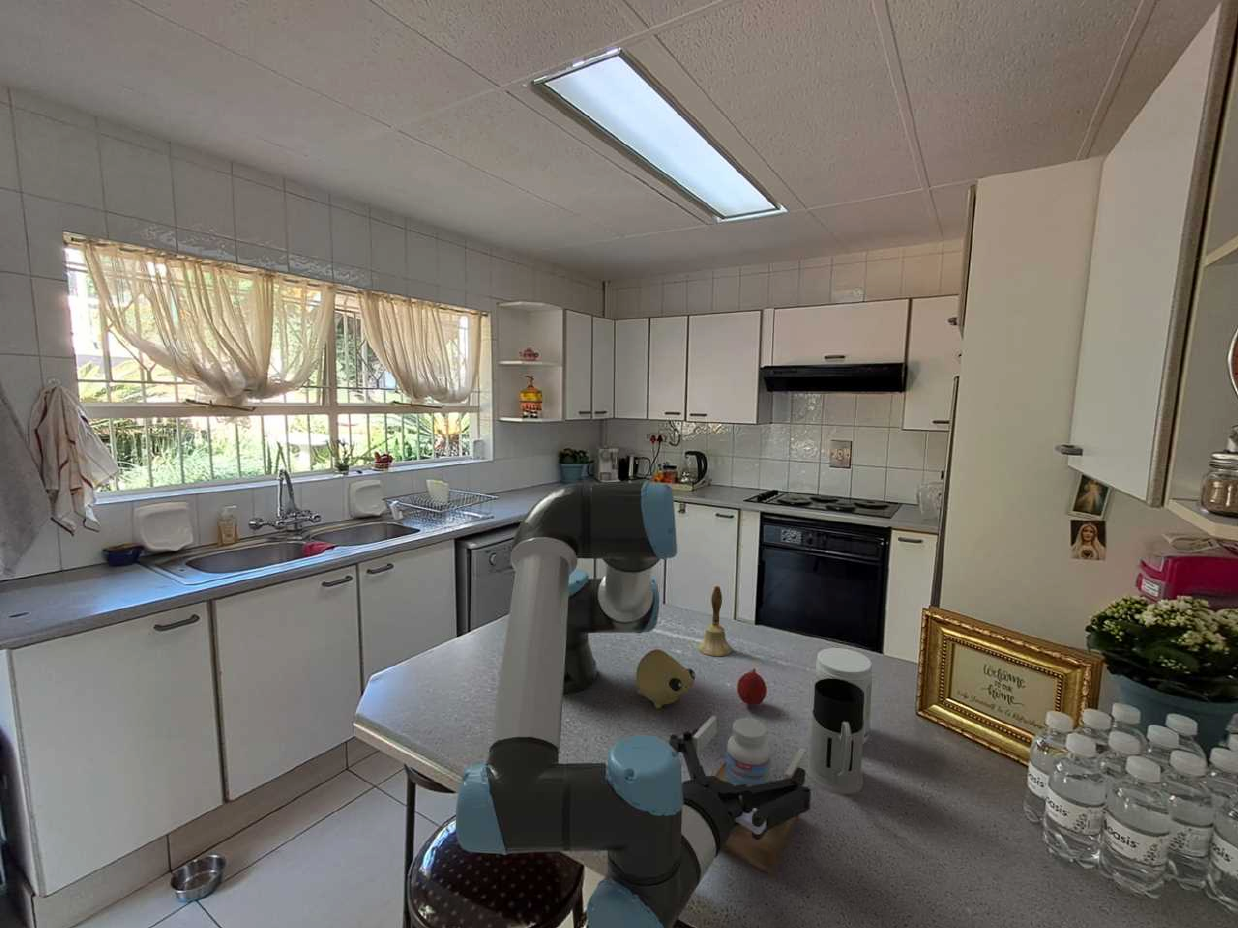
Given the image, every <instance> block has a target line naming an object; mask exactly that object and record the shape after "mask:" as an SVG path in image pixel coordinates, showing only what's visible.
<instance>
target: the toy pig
mask: <svg viewBox="0 0 1238 928" xmlns="http://www.w3.org/2000/svg"><path fill="white" fill-rule="evenodd" d="M635 677H636V678H635V679H636V683H637V686H638V688H637V693H638V695H639V696H642V695H643V696H644V697H645V698H646V699H648V700H650V702H653V704H654V707H655V709H657V710H659V709H661V708H662V707H663V705H669V704H673V703H675V702H676V701H678V699H680V697H682V696H683V695H685V694H686V693H688V692H689V691H691V690H692V689H693V687H694V685H695V683H696V680H695V678H696V672H695V671H694V669H692V668H688V667H687V668H686V667H685V666H683V665H682V664H681V663H680V662H679V661H678V660H676V659H675V658H674V657H673V656H671V655H670V654H668V653H667V652H665V651H664V650H662V649H656V648H655V649H653V650H651V651H649V652H647V653H646V654H644V656H643V657H642V658H641V660H640V661H639V663H638V665H637V668H636V674H635Z"/></svg>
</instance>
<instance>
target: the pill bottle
mask: <svg viewBox="0 0 1238 928" xmlns="http://www.w3.org/2000/svg"><path fill="white" fill-rule="evenodd" d="M766 739H767V728H766V726H765V724H764V723H763V722H761V721H759V720H758V719H755V718H750V717H741V718H738V719H736V720H735V721H734V722H733V724H732V735H731V736H730V737H729V739H728V741H727V745H726V747H727V750H726V762H727V768H726V782H729V783H731V784H733V785H734V786H735V785H740V784H746V785H747V786H753V785H758V784H764V783H769V780H770V768H771V767H770V765H771V748H770V745H769V743H768V742H767V740H766ZM739 798H740V801H741V799H742V795H740V796H739ZM751 812H753V811H751Z"/></svg>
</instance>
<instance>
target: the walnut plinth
mask: <svg viewBox="0 0 1238 928" xmlns="http://www.w3.org/2000/svg"><path fill="white" fill-rule="evenodd" d="M723 762H724V763H723V764H722V765H721V766H720V768H719V769H718V770H717V772H715V774H714V775H713V776H715V777H717V778H719V779H720V780H722V781H725V782H726V768H727V761H723ZM774 781H775V780H774ZM774 781H773V780H772V779H769V782H774ZM799 818H800V815H798V816H796V817H794V818H792V819H790V820H788V821H786V822H784V823H782V824H780V825H778V826H776V827H774V828H772V829H770V830H768V831H767V832H766V833H765V835H764V836H763V837H762V838H761V839H760V840H755V839H753V838H752V835H751V834H752V831H751V830H750V829H748V828H746V827H745V826H743V825H739V826H737V827H735V828H733V830H732V832H731V834H730V836H729V838H728V839H727V841H726V842H725V844H724V846H723V847H722V849H721V850H723V851H725V852H728V853H729V854H731V855H733V856H734V857H736V858H739V859H741V860H743V861H744V862H747V863H748V864H751V865H752V866H755V867H756V868H758V869H761V870H762V871H764V872H766V873H768V874H771V875H772V873H773V872H774V869H775V866H777V865H776V864H778V863H777V862H778V861H779V859H780V857H781V855H782V852H783V851H784V849H785V846H786V845H787V843H788V841H789V838H790V836H791V835H792V833H793V830H794V829H795V827H796V824H797V822H798V821H799Z"/></svg>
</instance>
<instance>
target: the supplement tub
mask: <svg viewBox="0 0 1238 928" xmlns="http://www.w3.org/2000/svg"><path fill="white" fill-rule="evenodd" d="M872 666H873V664H872V662H871V660H870V658H868V657H867V656H866V655H864V654H863V653H860V652H858V651H855V650H852V649H847V648H841V647H829V648H826V649H822V650H820V651H819V652H818V654H817V659H816V665H815V667H816V671H815V683H816V682H817V681H819V680H822V679H830V678H832V679H840V680H844V681H848V682H850V683H853V684H855V685H856V686H858V687H859V688H860V689H861V690H862V691H863V692H864V709H863V719H864V729H863V745H864V744H865V743H867V741H868V739H869V738H870V727H871V725H870V723H871V707H872V706H871V704H872V703H871V702H872V690H873V689H872V687H873V686H872V685H873V667H872Z"/></svg>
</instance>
